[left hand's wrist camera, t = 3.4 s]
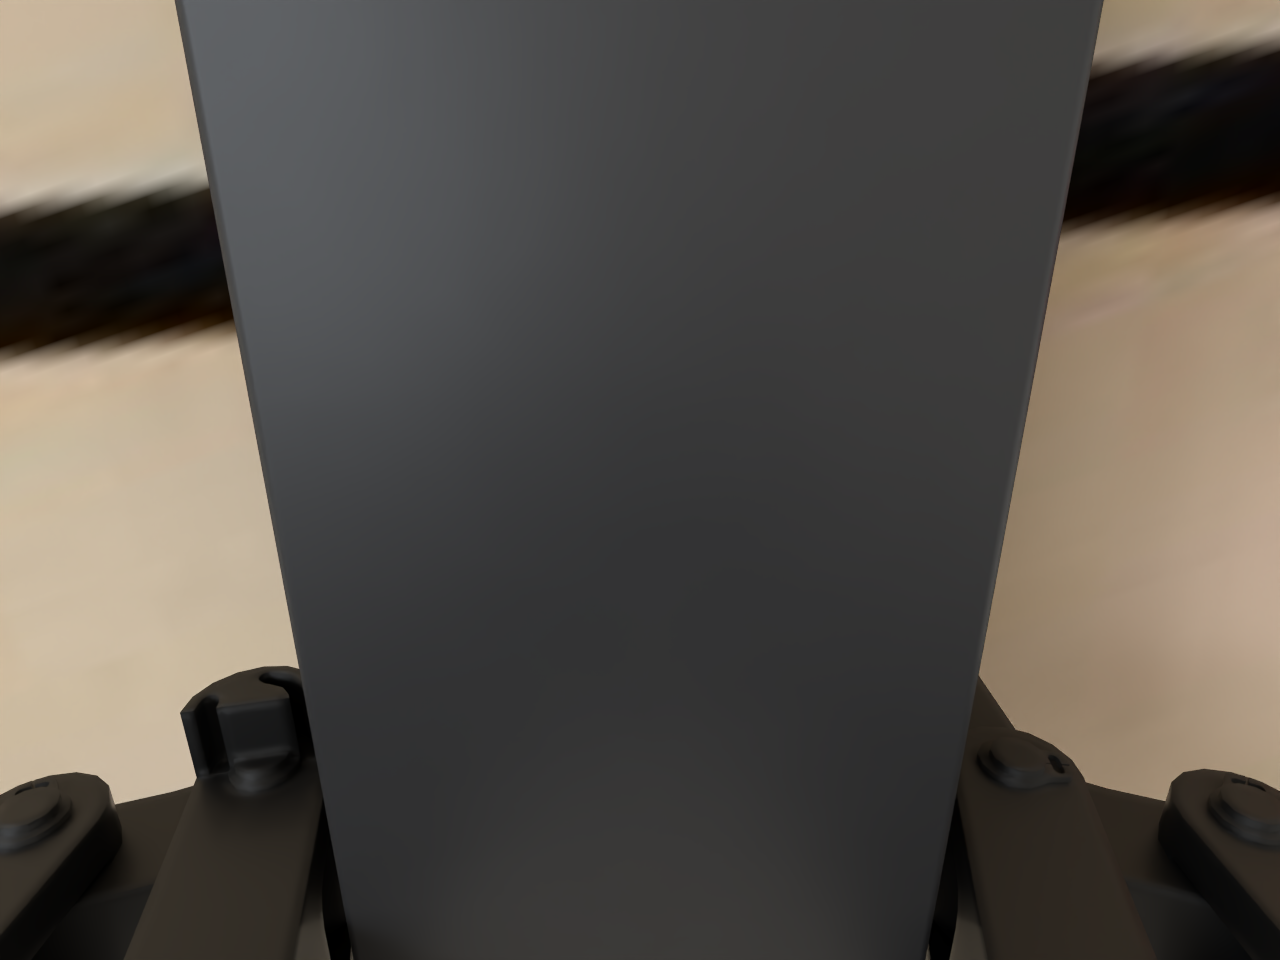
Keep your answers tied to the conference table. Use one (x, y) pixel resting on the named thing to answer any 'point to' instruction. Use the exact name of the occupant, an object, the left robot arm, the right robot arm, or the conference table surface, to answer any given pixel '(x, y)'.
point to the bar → (639, 441)
